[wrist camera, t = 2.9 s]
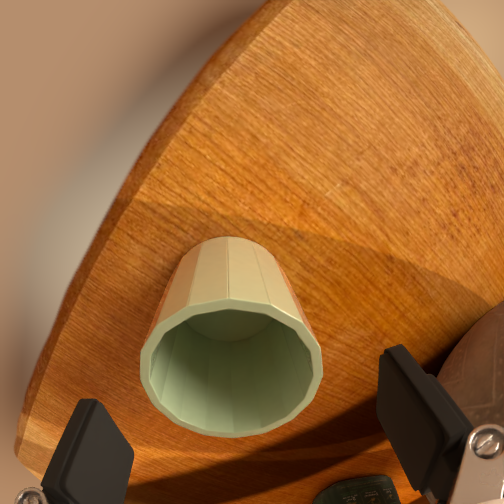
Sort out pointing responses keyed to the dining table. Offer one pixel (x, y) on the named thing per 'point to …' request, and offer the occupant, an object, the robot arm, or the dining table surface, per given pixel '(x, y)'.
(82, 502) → the robot arm
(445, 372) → the bowl
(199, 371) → the sage cup
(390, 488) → the coffee jar
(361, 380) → the dining table surface
